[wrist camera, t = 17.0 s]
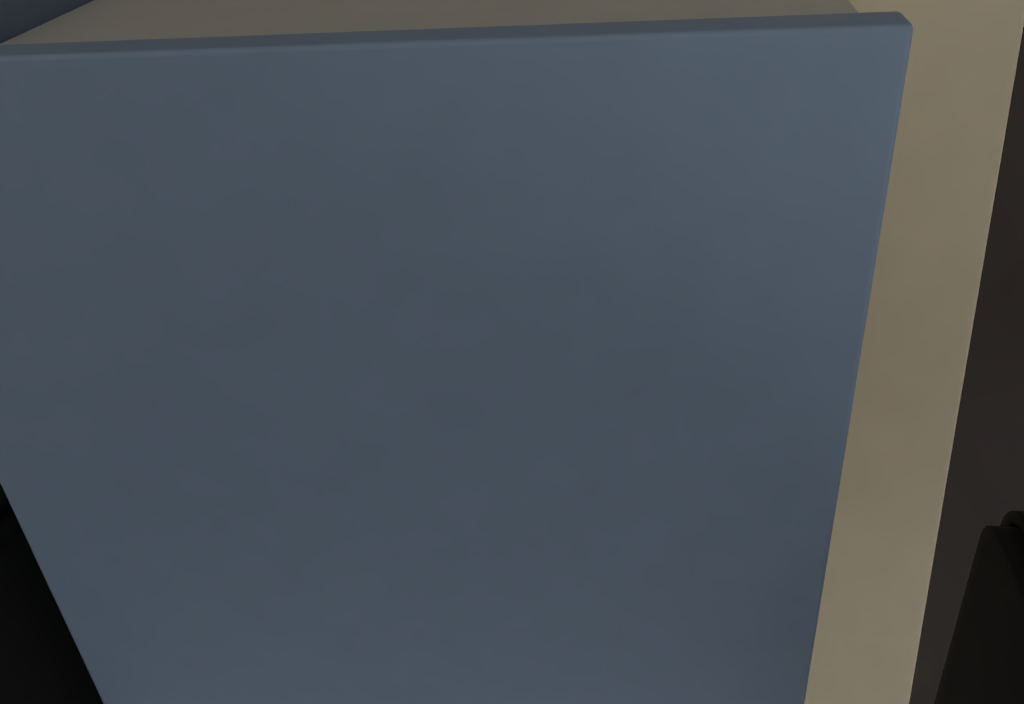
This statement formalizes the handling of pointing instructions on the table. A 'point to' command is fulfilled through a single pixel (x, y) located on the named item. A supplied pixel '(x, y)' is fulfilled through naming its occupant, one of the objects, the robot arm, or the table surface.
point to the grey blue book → (438, 339)
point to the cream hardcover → (914, 345)
